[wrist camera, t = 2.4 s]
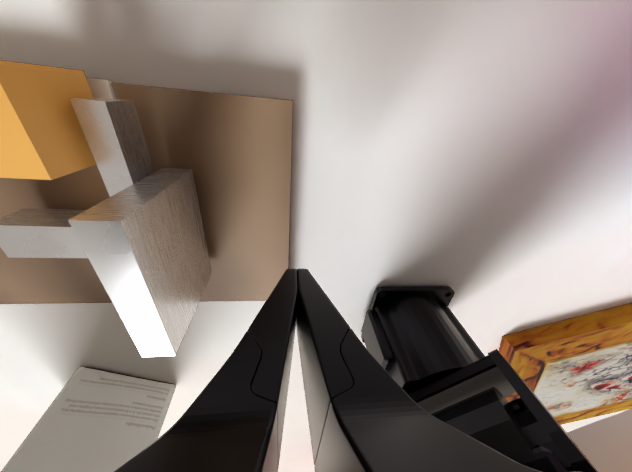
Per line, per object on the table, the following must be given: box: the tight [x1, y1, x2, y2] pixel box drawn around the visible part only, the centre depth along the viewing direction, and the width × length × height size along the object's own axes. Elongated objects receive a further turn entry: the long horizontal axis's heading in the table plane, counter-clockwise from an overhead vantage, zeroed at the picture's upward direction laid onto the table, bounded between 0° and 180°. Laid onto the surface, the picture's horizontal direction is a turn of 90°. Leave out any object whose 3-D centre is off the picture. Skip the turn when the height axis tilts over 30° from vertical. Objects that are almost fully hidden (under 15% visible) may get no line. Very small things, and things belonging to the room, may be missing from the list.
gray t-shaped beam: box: [0, 98, 212, 357], centre depth 8 cm, size 8×8×5 cm
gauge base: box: [0, 78, 293, 304], centre depth 10 cm, size 22×12×6 cm, turn 85°
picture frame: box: [499, 303, 632, 425], centre depth 29 cm, size 27×2×30 cm
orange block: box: [0, 60, 96, 180], centre depth 7 cm, size 2×3×3 cm, turn 175°
